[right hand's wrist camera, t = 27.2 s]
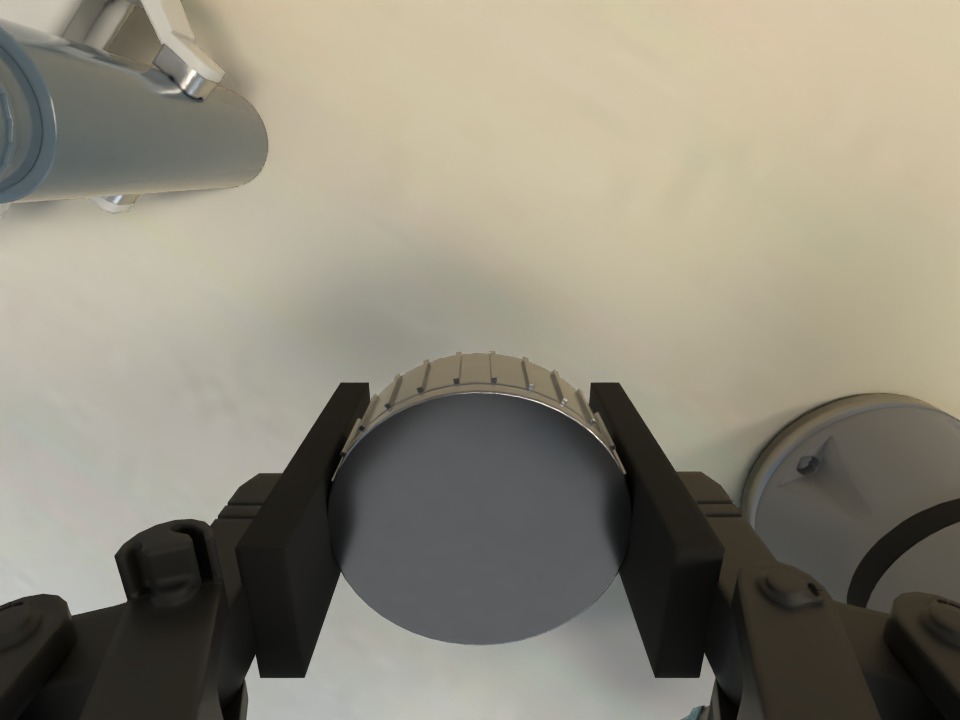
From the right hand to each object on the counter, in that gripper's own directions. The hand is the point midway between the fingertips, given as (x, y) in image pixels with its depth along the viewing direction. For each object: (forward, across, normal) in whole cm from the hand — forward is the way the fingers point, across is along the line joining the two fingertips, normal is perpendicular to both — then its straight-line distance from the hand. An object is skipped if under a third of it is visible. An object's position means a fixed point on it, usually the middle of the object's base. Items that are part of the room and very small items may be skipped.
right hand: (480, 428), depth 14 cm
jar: (+18, +14, -8) cm, 25 cm away
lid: (-4, 0, 0) cm, 4 cm away
